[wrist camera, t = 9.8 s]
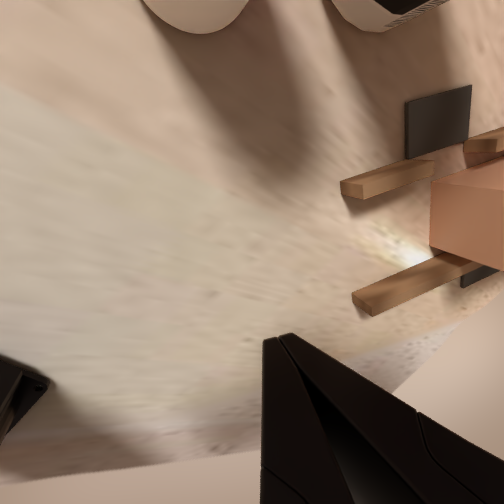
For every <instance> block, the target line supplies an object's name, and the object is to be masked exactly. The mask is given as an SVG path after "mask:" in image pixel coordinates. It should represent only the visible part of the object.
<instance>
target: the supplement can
mask: <svg viewBox="0 0 504 504" xmlns="http://www.w3.org/2000/svg"><path fill="white" fill-rule="evenodd" d="M331 1H332V2H333V4H334V5H335V6H336V8H337V9H338V11H339V12H340V14H341V15H342V16H343V18H344V19H345V20H347V21H348V22H350V23H351V24H353V25H354V26H356V27H358V28H359V29H361V30H362V31H370V32H384V31H387V30H389V29H391V28H394V27H396V26H398V25H401V24H403V23H405V22H407V21H409V20H411V19H413V18H415V17H417V16H419V15H421V14H423V13H425V12H427V11H429V10H431V9H433V8H435V7H437V6H439V5H441V4H443V3H445V2H447V1H449V0H331Z"/></svg>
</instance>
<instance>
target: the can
mask: <svg viewBox="0 0 504 504" xmlns="http://www.w3.org/2000/svg"><path fill="white" fill-rule="evenodd" d="M143 1H144V2H145V4H146V5H147V6H148V7H149V8H150V9H151V10H152V11H153V12H154V13H155V14H156V15H157V16H158V17H160V18H161V19H162V20H164V21H165V22H166V23H168V24H170V25H171V26H173V27H175V28H177V29H180V30H182V31H185V32H189V33H195V34H207V33H212V32H216V31H218V30H221V29H223V28H224V27H226V26H227V25H229V24H230V23H231V22H232V21H233V20H234V19H235V18H236V17H237V16H238V15H239V14H240V12H241V11H242V10H243V8H244V7H245V5H246V4H247V2H248V1H249V0H143Z"/></svg>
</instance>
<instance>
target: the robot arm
mask: <svg viewBox="0 0 504 504" xmlns="http://www.w3.org/2000/svg"><path fill="white" fill-rule="evenodd" d="M49 384H50V382H49V380H48V379H46V378H44V377H41V376H39V375H36V374H34V373H31V372H29V371H26V370H24V369H21V368H18V367H16V366H13V365H11V364H8V363H6V362H3V361H1V360H0V445H1V443H2V441H3V439H4V437H5V436H6V434H7V433H8V432H9V431H10V430H11V429H12V428H13V427H14V426H15V425H16V424H17V423H18V421H19V420H20V419H21V418H22V417H23V416H24V415H25V414H26V413H27V412H28V411H29V409H30V408H31V407H32V406H33V405H34V404H35V403H36V402H37V401H38V400H39V399H40V397H41V396H42V395H43V394H44V393H45V392H46V391H47V389H48V387H49ZM37 385H41V386H43V387H38V386H37ZM260 478H261V479H260V483H261V484H260V504H504V461H503V460H501V459H500V458H498V457H496V456H494V455H492V454H491V453H489V452H487V451H485V450H483V449H482V448H480V447H478V446H476V445H474V444H473V443H471V442H469V441H467V440H466V439H464V438H462V437H461V436H459V435H457V434H456V433H454V432H452V431H450V430H449V429H447V428H445V427H444V426H442V425H440V424H439V423H437V422H435V421H434V420H432V419H431V418H429V417H427V416H426V415H424V414H422V413H421V412H417V411H416V409H414V408H413V407H411V406H409V405H408V404H406V403H405V402H403V401H401V400H400V399H398V398H397V397H395V396H393V395H392V394H390V393H389V392H387V391H385V390H384V389H382V388H381V387H379V386H377V385H376V384H374V383H373V382H371V381H369V380H368V379H366V378H365V377H363V376H361V375H360V374H358V373H356V372H355V371H353V370H352V369H350V368H348V367H347V366H345V365H344V364H342V363H340V362H339V361H337V360H336V359H334V358H332V357H331V356H329V355H328V354H326V353H324V352H323V351H321V350H320V349H318V348H316V347H315V346H313V345H311V344H310V343H308V342H307V341H305V340H303V339H302V338H300V337H299V336H297V335H295V334H294V333H287V334H283V335H280V336H279V337H278V338H277V337H272V338H268V339H265V340H263V348H262V418H261V475H260Z"/></svg>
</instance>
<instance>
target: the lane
mask: <svg viewBox="0 0 504 504" xmlns="http://www.w3.org/2000/svg"><path fill="white" fill-rule="evenodd" d="M471 94H472V85H468V86H464V87H460V88H457V89H453V90H450V91H446V92H443V93H439V94H436V95H432V96H428V97H425V98H421V99H418V100H414V101H411V102H407V103H405V143H406V159H405V160H402V161H399V162H396V163H393V164H390V165H387V166H384V167H381V168H378V169H375V170H372V171H369V172H366V173H363V174H360V175H357V176H354V177H351V178H348V179H345V180H342V181H340V186H341V194H342V195H346V196H351V197H355V198H359V199H363V200H364V199H367V198H370V197H373V196H376V195H378V194H381V193H384V192H387V191H390V190H392V189H395V188H398V187H401V186H404V185H406V184H409V183H412V182H415V181H418V180H420V179H423V178H426V177H429V176H432V175H434V161H433V160H409V159H412V158H415V157H418V156H421V155H424V154H427V153H430V152H433V151H436V150H439V149H442V148H445V147H448V146H451V145H454V144H457V143H460V142H463V141H464V150H463V152H480V153H496V152H499V151H502V150H504V127H501V128H498V129H495V130H492V131H489V132H486V133H483V134H480V135H477V136H474V137H471V138H468V132H469V119H470V106H471ZM498 271H500V270H498V269H495V268H492V267H489V266H486V265H483V264H480V263H478V262H475V261H472V260H469V259H466V258H463V257H460V256H458V255H455V254H452V253H449V252H445V253H443V254H440V255H438V256H436V257H434V258H431V259H429V260H427V261H424V262H422V263H420V264H417V265H415V266H413V267H410V268H408V269H406V270H404V271H401V272H399V273H397V274H394V275H392V276H390V277H387V278H385V279H383V280H380V281H378V282H376V283H374V284H371V285H369V286H367V287H364V288H362V289H360V290H357V291H355V292H353V293H352V300H353V303H355V304H356V305H357V306H358V307H360V308H361V309H362V310H364V311H365V312H366V313H368V314H369V315H370V316H372V317H373V316H375V315H378V314H380V313H382V312H384V311H386V310H388V309H391V308H393V307H395V306H397V305H399V304H401V303H404V302H406V301H408V300H410V299H412V298H414V297H417V296H419V295H421V294H423V293H425V292H427V291H430V290H432V289H434V288H436V287H438V286H440V285H442V284H445V283H447V282H449V281H451V280H453V279H455V278H458V277H460V276H461V287H462V288H465V287H467V286H469V285H471V284H473V283H475V282H477V281H479V280H481V279H483V278H486V277H488V276H490V275H492V274H494V273H496V272H498Z"/></svg>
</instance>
